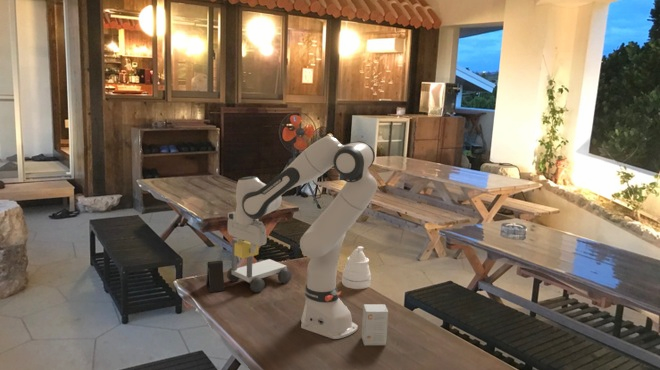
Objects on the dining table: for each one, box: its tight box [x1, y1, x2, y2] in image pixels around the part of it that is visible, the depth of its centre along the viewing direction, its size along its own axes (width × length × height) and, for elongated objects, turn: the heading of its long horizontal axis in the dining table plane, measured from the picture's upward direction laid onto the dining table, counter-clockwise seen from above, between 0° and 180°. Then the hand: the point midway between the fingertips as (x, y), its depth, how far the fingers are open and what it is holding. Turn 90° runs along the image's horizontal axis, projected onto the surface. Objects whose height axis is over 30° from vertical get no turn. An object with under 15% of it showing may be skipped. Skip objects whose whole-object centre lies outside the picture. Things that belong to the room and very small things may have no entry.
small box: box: [361, 303, 389, 346], centre depth 193 cm, size 8×6×13 cm
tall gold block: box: [234, 240, 260, 259], centre depth 213 cm, size 5×8×5 cm, turn 135°
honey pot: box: [341, 245, 372, 290], centre depth 245 cm, size 13×13×18 cm
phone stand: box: [205, 260, 225, 293], centre depth 232 cm, size 9×6×12 cm, turn 25°
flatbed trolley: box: [226, 237, 293, 294], centre depth 241 cm, size 22×18×21 cm
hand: (246, 250), depth 214 cm, fingers closed on tall gold block, 5 cm apart
